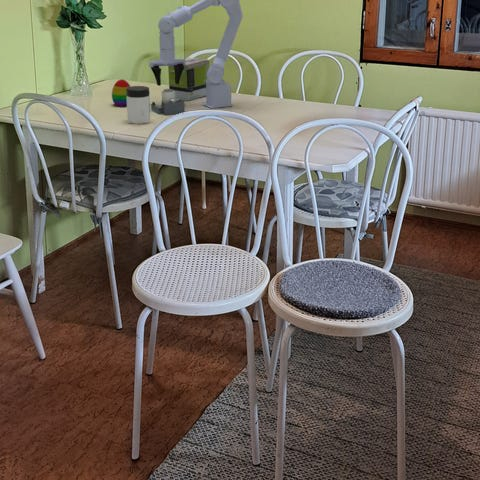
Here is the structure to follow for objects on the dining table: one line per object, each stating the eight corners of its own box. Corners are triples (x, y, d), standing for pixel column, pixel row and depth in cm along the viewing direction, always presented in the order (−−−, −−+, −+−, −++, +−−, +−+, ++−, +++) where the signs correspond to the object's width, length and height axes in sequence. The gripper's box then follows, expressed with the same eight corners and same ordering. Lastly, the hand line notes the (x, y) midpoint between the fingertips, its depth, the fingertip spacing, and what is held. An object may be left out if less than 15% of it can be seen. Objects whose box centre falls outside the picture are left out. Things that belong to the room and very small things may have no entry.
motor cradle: (176, 107, 310) (176, 93, 308) (187, 112, 301) (187, 98, 299) (151, 109, 305) (150, 96, 303) (161, 115, 297) (161, 101, 295)
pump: (172, 103, 316) (171, 88, 314) (177, 105, 312) (177, 90, 310) (160, 104, 314) (159, 89, 312) (165, 107, 310) (164, 91, 308)
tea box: (191, 92, 337) (191, 56, 331) (210, 95, 331) (210, 59, 326) (168, 98, 325) (167, 61, 320) (187, 101, 320) (186, 64, 314)
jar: (132, 125, 283) (131, 91, 278) (122, 120, 289) (121, 87, 284) (155, 122, 287) (154, 88, 283) (144, 117, 294) (143, 84, 289)
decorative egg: (108, 106, 311) (107, 80, 307) (118, 102, 318) (117, 76, 314) (127, 108, 308) (125, 82, 304) (137, 103, 315) (135, 78, 311)
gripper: (180, 46, 312) (181, 81, 317) (145, 48, 305) (146, 84, 310) (187, 48, 306) (188, 84, 311) (152, 51, 299) (153, 87, 305)
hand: (168, 84), depth 310 cm, fingers open, 7 cm apart
